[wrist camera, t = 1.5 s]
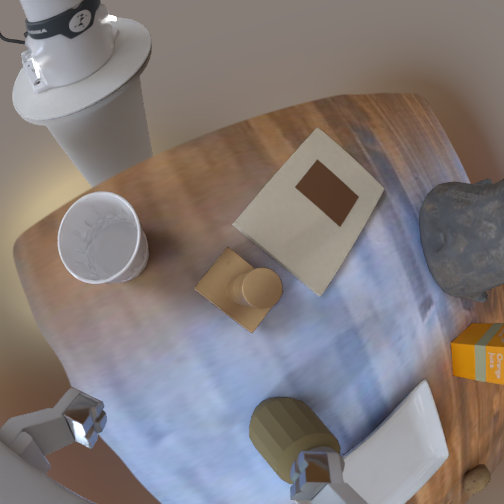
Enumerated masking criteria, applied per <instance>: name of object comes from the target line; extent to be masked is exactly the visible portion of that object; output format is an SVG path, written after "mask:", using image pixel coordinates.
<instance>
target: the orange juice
mask: <svg viewBox="0 0 504 504" xmlns="http://www.w3.org/2000/svg"><path fill="white" fill-rule="evenodd" d="M451 351H452V363H453V376H458V377H463V378H468V379H473V380H477V381H483V382H490V383H496V384H503V385H504V323H494V324H483V323H472V324H471V325H470V326H469V327H468V328H467V329H465V330H464V331H463V332H462V333H461V334H460V335H459V336H458V337H457V338H456V339H455V340H453V341H452V342H451Z"/></svg>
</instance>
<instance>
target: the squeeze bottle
mask: <svg viewBox="0 0 504 504" xmlns="http://www.w3.org/2000/svg"><path fill="white" fill-rule="evenodd" d="M249 437H250V439H251V441H252V443H253V445H254V446H255V448H256V449H257V450H258V452H259V453H260V454H261V455H262V457H263V458H264V459H265V460H266V461H267V463H268V464H269V465H270V466H271V468H272V469H273V470H274V471H275V472H276V474H277V475H278V476H279V477H280V478H281V479H282V480H284V481H286V482H287V483H289V484H293V482H292V480H291V479H290V473H291V467H292V464H293V463H294V461H295V460H297V459H298V455H299V453H300V452H301V451H316V452H337V453H338V454H339V459H340V464H341V470H342V473H343V471H344V467H345V462H344V459H343V457H342V456H341V455H340V445H339V443H338V440H337V439H336V438H335V436H334V435H333V434H332V433H331V432H330V431H329V429H328V428H327V427H326V426H325V425H324V424H323V422H322V421H321V420H320V419H319V418H318V417H317V415H316V414H315V413H314V412H313V411H312V409H311V408H310V407H309V406H307V405H306V404H305V403H304V402H303V401H300V400H296V399H292V398H285V397H274V398H269V399H267V400H265V401H262V402H261V403H260V404H259V405H258V406H257V407H256V408H255V410H254V412H253V414H252V417H251V421H250V425H249Z"/></svg>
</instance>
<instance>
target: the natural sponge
mask: <svg viewBox="0 0 504 504" xmlns="http://www.w3.org/2000/svg"><path fill="white" fill-rule="evenodd" d="M489 482H490V472H489V470H488V469H487V467H486V466H485V465H484V464H479V465H477V466H475V467H474V468H472V469H471V470H469V471H468V472H467V473H466V474H465V475H464V477H463V488H464V491H465V492H467V493H470V494H474V493H478V492H480V491H482V490H483V489H484V488H485V487H486V486H487V485H488V483H489Z"/></svg>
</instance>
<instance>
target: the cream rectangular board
mask: <svg viewBox="0 0 504 504" xmlns="http://www.w3.org/2000/svg"><path fill="white" fill-rule="evenodd" d="M383 191H384V188H383V187H382V186H381V185H380V184H379V183H378V182H377V181H376V180H375V179H374V178H373V177H372V176H371V175H370V174H369V173H368V172H367V171H366V170H365V169H364V168H363V167H362V166H361V165H360V164H359V163H358V162H357V161H356V160H355V159H354V158H353V157H351V156H350V155H349V154H348V153H347V152H346V151H345V150H344V149H343V148H341V147H340V146H339V145H338V144H337V143H336V142H335V141H333V140H332V139H331V138H330V137H329V136H328V135H326V134H325V133H324V132H323V131H322V130H320V129H319V128H318V127H317V128H316V129H315V130H314V131H313V132H312V133H311V135H310V136H309V137H308V138H307V139H306V140H305V141H304V142H303V143H302V145H301V146H300V147H299V148H298V149H297V150H296V151H295V152H294V154H293V155H292V156H291V157H290V158H289V159H288V160H287V161H286V163H285V164H284V165H283V166H282V167H281V168H280V169H279V171H278V172H277V173H276V174H275V175H274V176H273V177H272V179H271V180H270V181H269V182H268V183H267V184H266V186H265V187H264V188H263V189H262V190H261V191H260V193H259V194H258V195H257V196H256V197H255V198H254V200H253V201H252V202H251V203H250V204H249V205H248V207H247V208H246V209H245V210H244V211H243V212H242V214H241V215H240V216H239V217H238V218H237V220H236V221H235V222H234V223H233V226H234V227H235V228H236V229H237V230H239V231H240V232H241V233H242V234H243V235H245V236H246V237H247V238H248V239H250V240H251V241H252V242H253V243H254V244H256V245H257V246H258V247H259V248H261V249H262V250H263V251H264V252H265V253H267V254H268V255H269V256H270V257H272V258H273V259H274V260H275V261H276V262H278V263H279V264H280V265H281V266H282V267H284V268H285V269H286V270H287V271H289V272H290V273H291V274H292V275H293V276H295V277H296V278H297V279H298V280H299V281H301V282H302V283H303V284H304V285H305V286H307V287H308V288H309V289H310V290H311V291H313V292H314V293H315V294H316V295H318V296H322V294H323V293H324V291H325V290H326V288H327V287H328V285H329V283H330V282H331V280H332V279H333V277H334V276H335V274H336V272H337V271H338V269H339V268H340V266H341V264H342V263H343V261H344V260H345V258H346V256H347V255H348V253H349V251H350V250H351V248H352V246H353V245H354V243H355V241H356V240H357V238H358V236H359V234H360V233H361V231H362V229H363V227H364V226H365V224H366V222H367V220H368V219H369V217H370V215H371V213H372V211H373V210H374V208H375V206H376V204H377V202H378V200H379V199H380V197H381V195H382V193H383Z"/></svg>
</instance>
